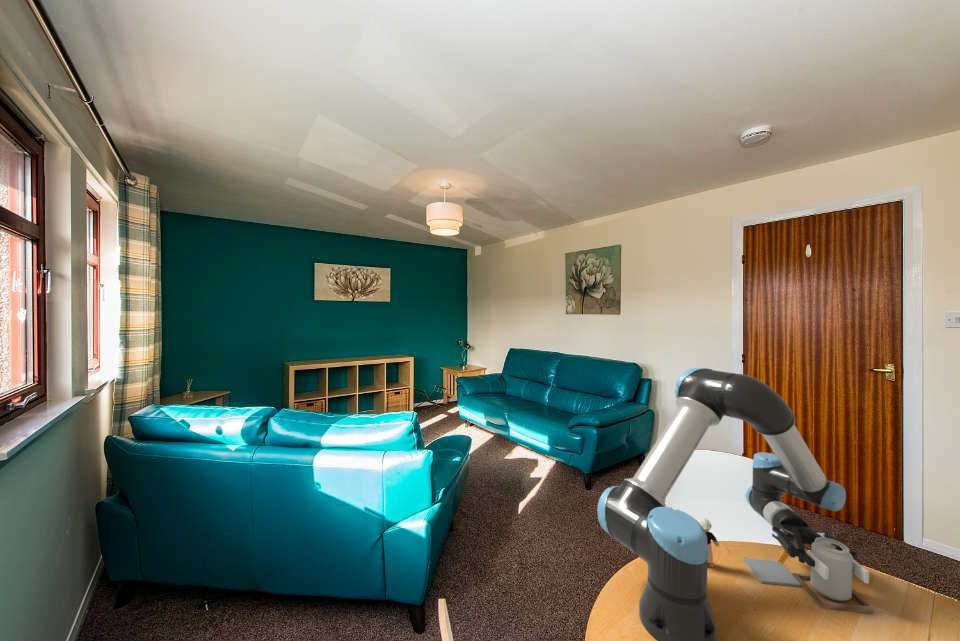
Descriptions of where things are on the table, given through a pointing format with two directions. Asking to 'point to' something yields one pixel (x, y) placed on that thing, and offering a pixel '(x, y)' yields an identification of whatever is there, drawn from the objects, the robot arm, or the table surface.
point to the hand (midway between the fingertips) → (846, 575)
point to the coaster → (771, 572)
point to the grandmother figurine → (708, 539)
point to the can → (833, 569)
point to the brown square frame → (829, 605)
